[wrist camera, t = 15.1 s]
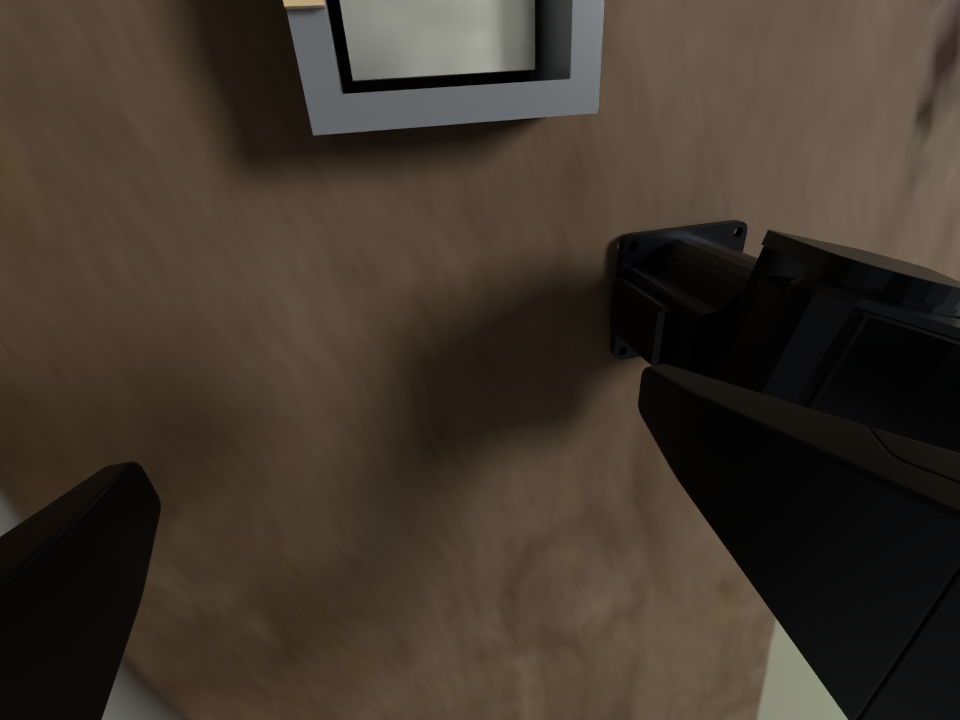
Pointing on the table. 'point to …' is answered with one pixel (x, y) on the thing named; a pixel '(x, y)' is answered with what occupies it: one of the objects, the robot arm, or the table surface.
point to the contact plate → (438, 37)
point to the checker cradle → (551, 91)
